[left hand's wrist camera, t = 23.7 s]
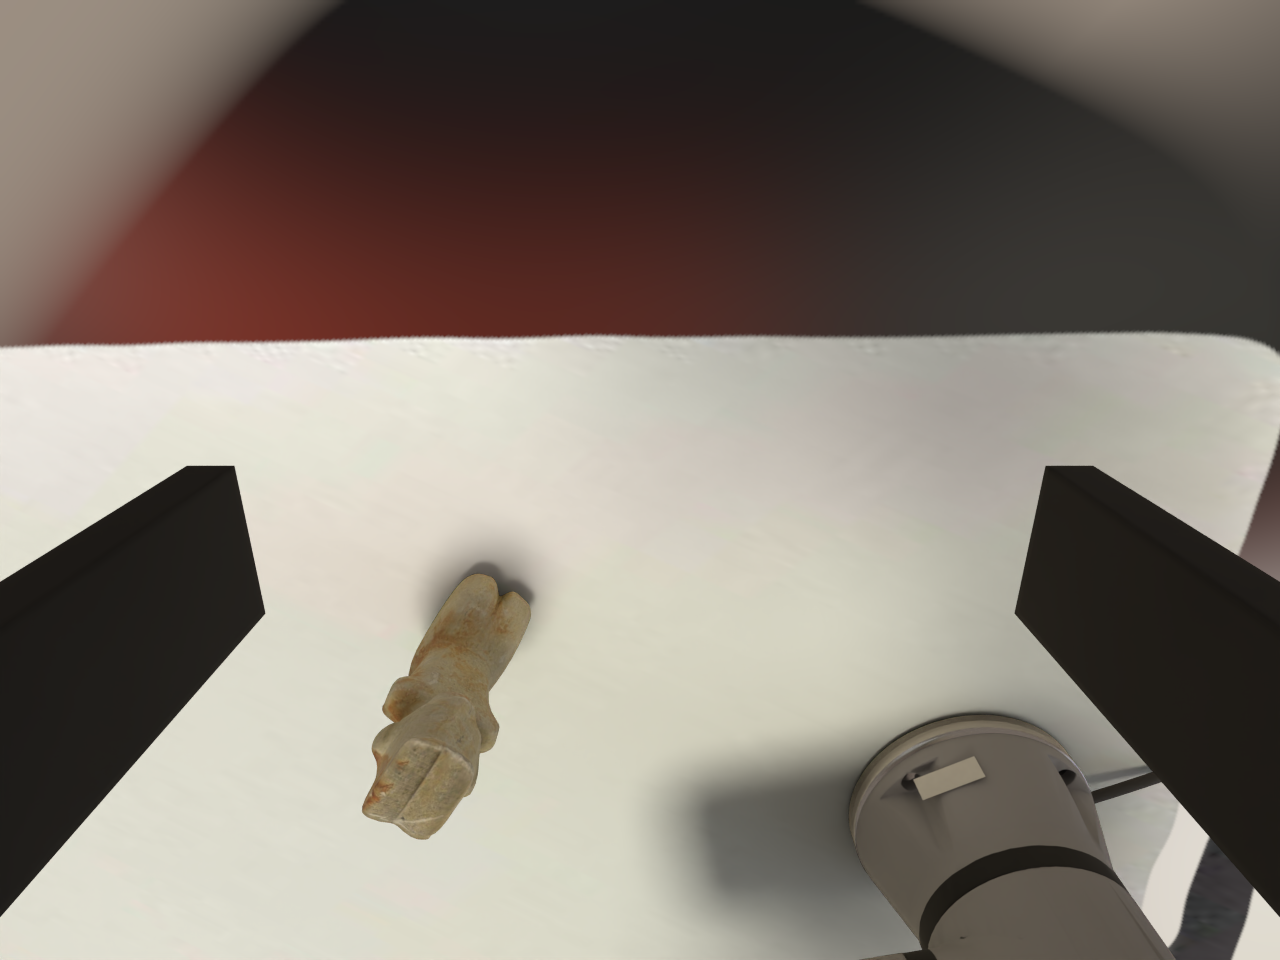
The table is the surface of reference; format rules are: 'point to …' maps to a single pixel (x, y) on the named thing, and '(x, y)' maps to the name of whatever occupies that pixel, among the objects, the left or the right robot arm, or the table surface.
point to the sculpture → (445, 709)
